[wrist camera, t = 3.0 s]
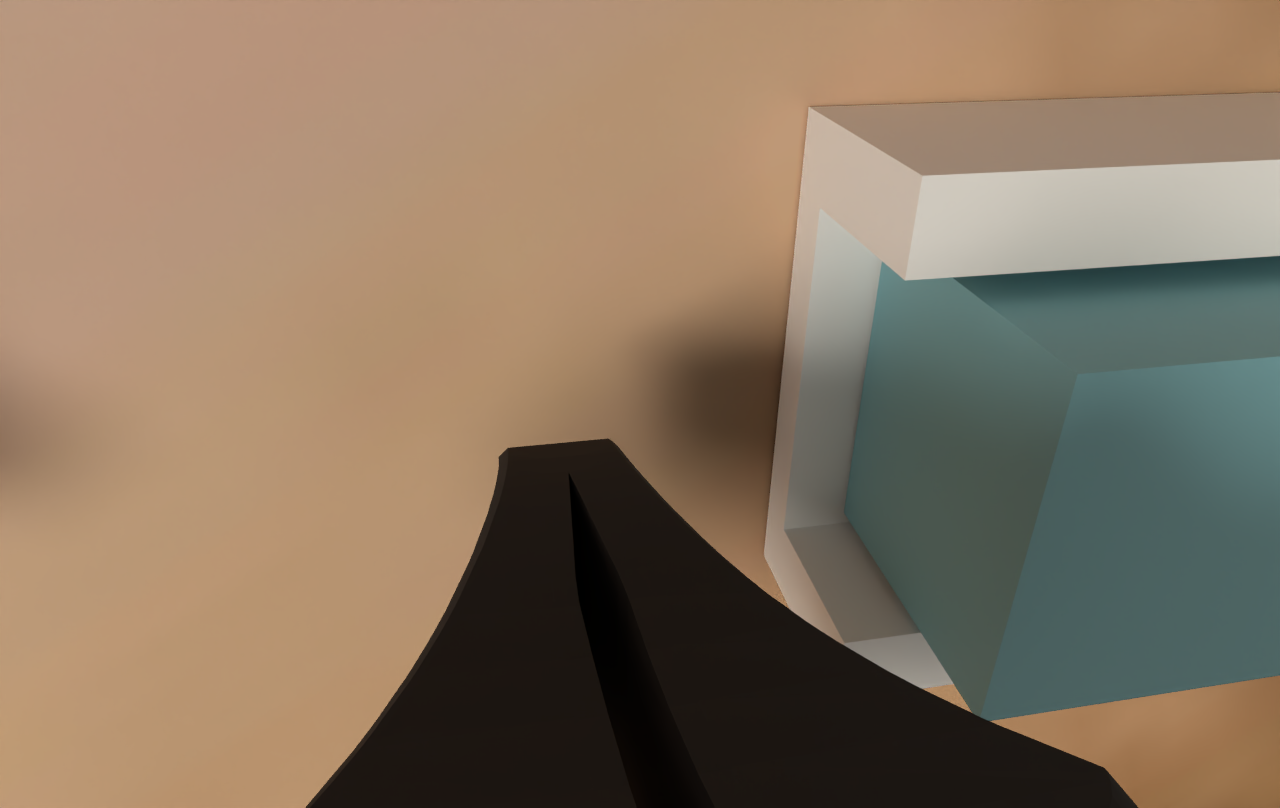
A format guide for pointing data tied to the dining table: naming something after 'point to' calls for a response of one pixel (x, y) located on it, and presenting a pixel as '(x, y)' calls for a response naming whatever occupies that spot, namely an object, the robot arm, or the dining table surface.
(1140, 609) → the block
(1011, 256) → the chute
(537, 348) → the dining table surface
